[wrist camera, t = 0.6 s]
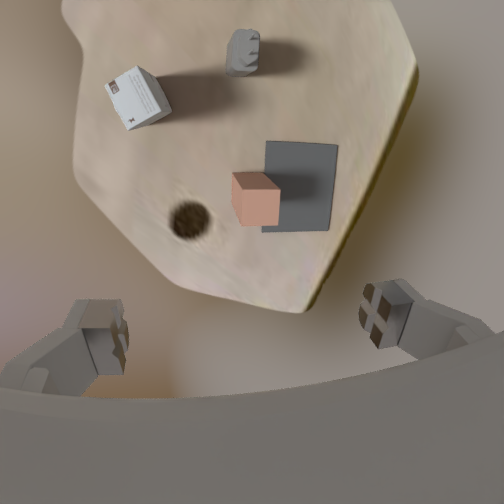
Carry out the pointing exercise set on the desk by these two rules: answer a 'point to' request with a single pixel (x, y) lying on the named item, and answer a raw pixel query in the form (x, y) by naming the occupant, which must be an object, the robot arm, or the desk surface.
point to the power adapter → (242, 53)
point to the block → (255, 199)
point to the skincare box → (138, 98)
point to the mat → (301, 184)
